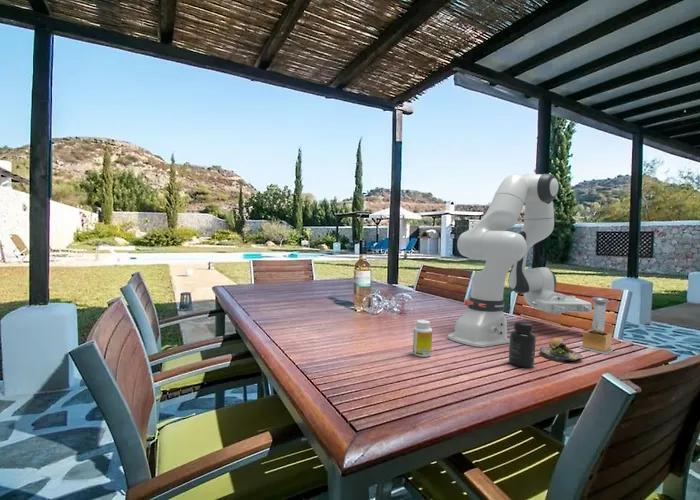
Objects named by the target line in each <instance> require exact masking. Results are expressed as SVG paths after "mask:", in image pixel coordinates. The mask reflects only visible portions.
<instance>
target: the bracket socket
mask: <svg viewBox="0 0 700 500" xmlns="http://www.w3.org/2000/svg"><path fill="white" fill-rule="evenodd" d="M612 343H613V333H610V332H605V331H604V336H602V335H598V334H593V333H592V328H591V329H588V330H585V331H583V334H582V344H581V345H579V346H578V347H579V349H581V350H585V349H586V350H585V351H589V350H590V351H591V352H594V353H598V354H603V355H609V354H610V353H612V352H614V351H615V348H613V347H612ZM613 350H614V351H613Z"/></svg>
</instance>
